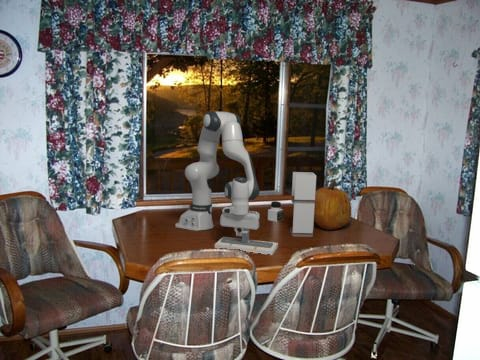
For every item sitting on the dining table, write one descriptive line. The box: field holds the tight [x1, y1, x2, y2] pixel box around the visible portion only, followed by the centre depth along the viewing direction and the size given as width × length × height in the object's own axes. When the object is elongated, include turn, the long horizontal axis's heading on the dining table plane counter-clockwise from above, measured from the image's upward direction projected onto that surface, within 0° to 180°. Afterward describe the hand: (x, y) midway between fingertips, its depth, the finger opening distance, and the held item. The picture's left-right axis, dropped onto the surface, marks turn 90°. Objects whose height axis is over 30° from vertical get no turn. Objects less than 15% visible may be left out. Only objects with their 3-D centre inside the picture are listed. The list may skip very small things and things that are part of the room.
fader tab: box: [241, 229, 251, 243], centre depth 231 cm, size 4×5×7 cm
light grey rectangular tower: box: [289, 171, 317, 238], centre depth 256 cm, size 11×11×35 cm
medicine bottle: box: [267, 200, 284, 223], centre depth 286 cm, size 7×7×12 cm
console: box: [214, 236, 279, 256], centre depth 231 cm, size 30×14×3 cm, turn 74°
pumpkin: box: [314, 178, 352, 231], centre depth 271 cm, size 26×23×30 cm
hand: (239, 235), depth 232 cm, fingers closed
